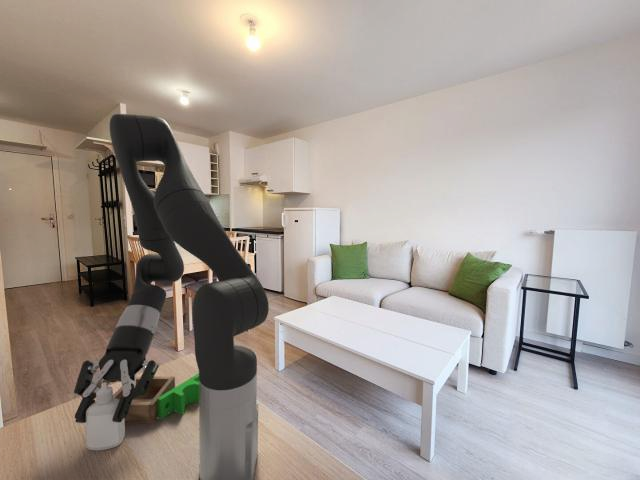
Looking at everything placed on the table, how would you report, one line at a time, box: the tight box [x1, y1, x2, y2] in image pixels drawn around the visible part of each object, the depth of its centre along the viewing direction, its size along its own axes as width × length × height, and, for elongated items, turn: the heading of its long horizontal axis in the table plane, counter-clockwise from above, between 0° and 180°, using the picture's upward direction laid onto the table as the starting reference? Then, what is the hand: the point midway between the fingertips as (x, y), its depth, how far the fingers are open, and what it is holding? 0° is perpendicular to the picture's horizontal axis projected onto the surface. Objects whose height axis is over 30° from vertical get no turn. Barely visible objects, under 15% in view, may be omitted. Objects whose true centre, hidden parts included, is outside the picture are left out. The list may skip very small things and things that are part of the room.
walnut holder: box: [113, 375, 176, 424], centre depth 62 cm, size 10×10×4 cm
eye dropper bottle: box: [85, 382, 126, 451], centre depth 52 cm, size 4×6×12 cm
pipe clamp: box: [157, 372, 199, 420], centre depth 63 cm, size 11×4×5 cm, turn 155°
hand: (98, 421), depth 50 cm, fingers closed on eye dropper bottle, 5 cm apart
